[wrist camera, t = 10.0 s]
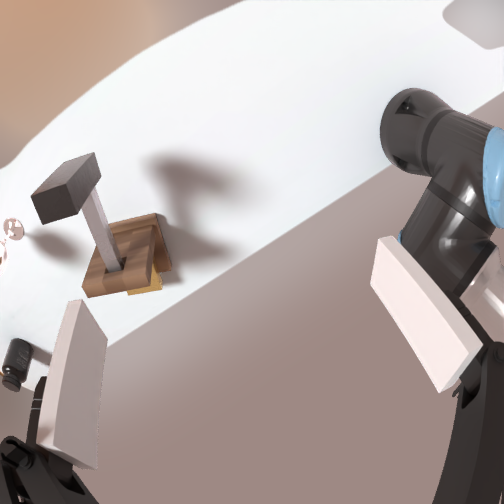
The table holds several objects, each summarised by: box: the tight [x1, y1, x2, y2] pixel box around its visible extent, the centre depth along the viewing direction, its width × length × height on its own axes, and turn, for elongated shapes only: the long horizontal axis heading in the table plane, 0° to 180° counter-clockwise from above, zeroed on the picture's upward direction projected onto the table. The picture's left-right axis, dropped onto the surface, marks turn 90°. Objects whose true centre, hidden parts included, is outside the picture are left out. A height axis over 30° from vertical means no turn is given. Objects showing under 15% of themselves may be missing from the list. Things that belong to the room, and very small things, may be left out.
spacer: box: [127, 256, 162, 295], centre depth 46 cm, size 2×6×6 cm
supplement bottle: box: [2, 339, 33, 392], centre depth 49 cm, size 7×7×12 cm
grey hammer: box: [31, 152, 125, 273], centre depth 29 cm, size 16×4×9 cm, turn 7°
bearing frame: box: [82, 213, 171, 298], centre depth 41 cm, size 10×10×13 cm
